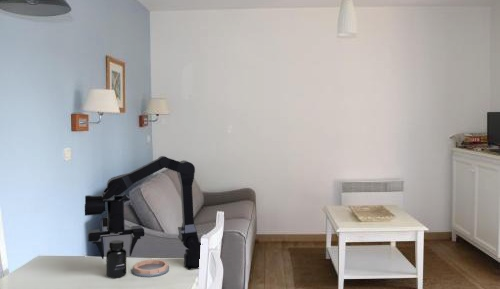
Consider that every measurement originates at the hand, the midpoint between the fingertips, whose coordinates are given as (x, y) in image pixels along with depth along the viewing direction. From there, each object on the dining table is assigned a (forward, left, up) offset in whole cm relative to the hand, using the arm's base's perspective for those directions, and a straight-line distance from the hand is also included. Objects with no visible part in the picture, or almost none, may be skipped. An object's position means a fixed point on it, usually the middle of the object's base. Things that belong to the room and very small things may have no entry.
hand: (116, 257), depth 152 cm
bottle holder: (-12, 0, -6) cm, 14 cm away
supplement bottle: (0, 0, -7) cm, 7 cm away
